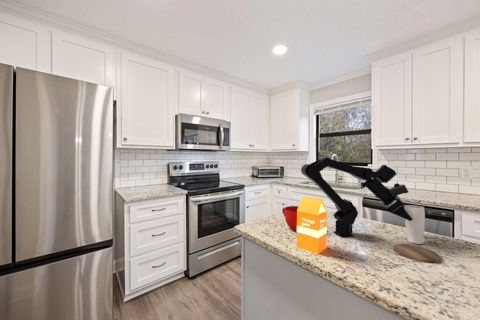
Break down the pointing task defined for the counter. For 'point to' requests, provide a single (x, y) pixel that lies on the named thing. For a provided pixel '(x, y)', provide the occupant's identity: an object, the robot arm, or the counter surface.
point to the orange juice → (311, 224)
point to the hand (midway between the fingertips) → (409, 217)
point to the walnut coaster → (417, 253)
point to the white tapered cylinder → (415, 224)
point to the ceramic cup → (291, 216)
